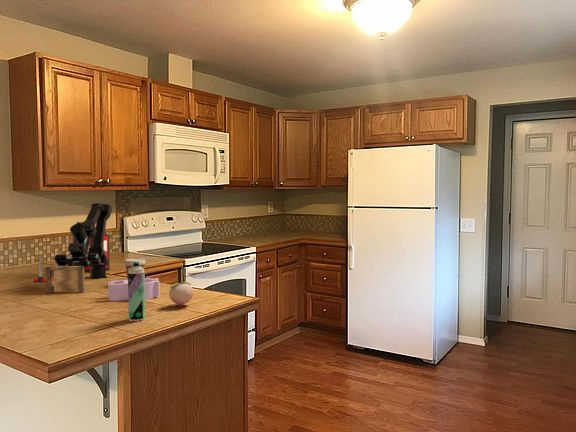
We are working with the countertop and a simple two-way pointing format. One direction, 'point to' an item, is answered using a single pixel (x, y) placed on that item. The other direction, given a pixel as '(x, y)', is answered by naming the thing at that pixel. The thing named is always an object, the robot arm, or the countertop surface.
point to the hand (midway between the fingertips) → (73, 275)
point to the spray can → (136, 292)
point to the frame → (49, 269)
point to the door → (65, 280)
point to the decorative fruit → (181, 293)
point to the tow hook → (40, 273)
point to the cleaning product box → (105, 246)
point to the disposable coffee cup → (130, 263)
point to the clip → (120, 289)
